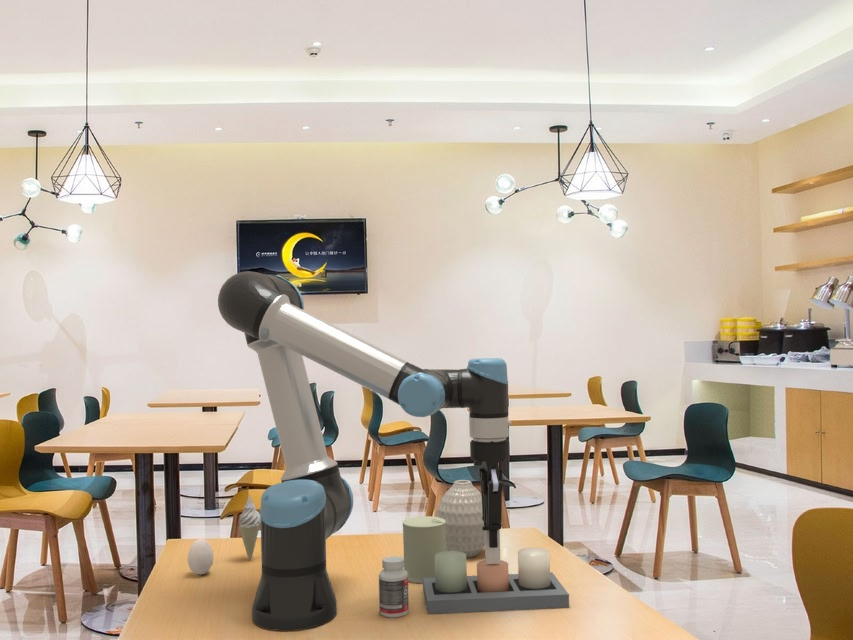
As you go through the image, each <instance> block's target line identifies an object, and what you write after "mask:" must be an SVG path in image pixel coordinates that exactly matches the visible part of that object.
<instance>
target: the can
mask: <svg viewBox="0 0 853 640" xmlns="http://www.w3.org/2000/svg"><path fill="white" fill-rule="evenodd" d="M402 536H403V537H402V539H403V540H402V542H403V558H404V564H405V565H404V567H403V569H404V570H406V571H407V573H408V583H413V584H421V585H423V578H435V554H437V553H439V552H443V551H447V550H446V521H445V520H444V519H443V518H439V517H436V516H429V515H427V516H425V515H424V516H423V515H422V516H413V517H408V518H405V519H404V520H403V521H402Z"/></svg>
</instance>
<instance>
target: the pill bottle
mask: <svg viewBox="0 0 853 640" xmlns="http://www.w3.org/2000/svg"><path fill="white" fill-rule="evenodd" d="M381 565H382V566H381V567H382V570H381V571H379V572H378V573H379V574H378V600H379V601H378V602H379V603H378V607H379V613H380V615H381V616H383V617H385V618H400V617H404V616H406V615H407V614H408V613H409V610H410V609H409V607H410V606H409V605H410V604H409V601H410V600H409V581H408V573H407V571H406V570H404V565H405V564H404V556H403V557H402V556H398V555H391V556H386V557H384V558H382V562H381Z"/></svg>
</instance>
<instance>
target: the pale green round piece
mask: <svg viewBox="0 0 853 640" xmlns="http://www.w3.org/2000/svg"><path fill="white" fill-rule="evenodd" d="M467 569H468V566H467V558H466V554H465V553H463V552H459V551H447V550H446V551H443V552H439V553H437V554H435V588H436V589H437V590H438V591H441V592H448V593H453V592H460V591H463V590H465V589H467V576H468V574H467V573H468V572H467V571H468V570H467Z"/></svg>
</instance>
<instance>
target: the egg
mask: <svg viewBox="0 0 853 640" xmlns="http://www.w3.org/2000/svg"><path fill="white" fill-rule="evenodd" d="M213 550H214V549H213V548H212V546H211V545H210V543H209V542H208V541H207V539H205V538H198V539H196V540H195V541H193V542H192V544H191V546H190V548H189V549H188V553H187V565H188V568H189V569H190V571H191V572H192V573H194V575H197V574H200V575H199V576H202V575H201V574H203V575H205V574H206V573H208V572H209V571H210V569H211V568H212V566H213V564H214V551H213Z"/></svg>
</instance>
